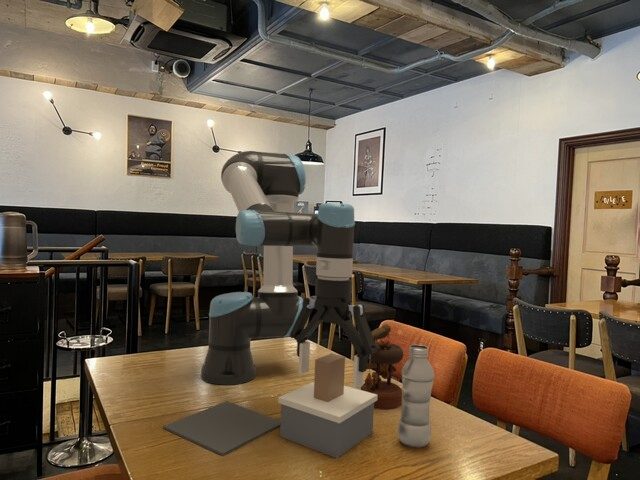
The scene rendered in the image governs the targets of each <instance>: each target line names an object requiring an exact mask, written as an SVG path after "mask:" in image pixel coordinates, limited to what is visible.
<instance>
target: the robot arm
mask: <svg viewBox="0 0 640 480" xmlns="http://www.w3.org/2000/svg"><path fill="white" fill-rule="evenodd" d="M220 175H221V176H220V179H221V182H222V185H223V187H224V188H225V190H226V191H227V192H228V193H230V195H231V196H232V199H233V202H234V204H235V206H236V209H237V210H238V213H237V215H236V220H235V234H236V240H237V242H238V244H239V245H245V246H253V247H259V246H260V247H261V246H262V247H263V280H262V281H263V282H262V283H263V284H262V286H260V288H259V289H258V290H257V297H253V294H252V293H251V292H248V291H243V292H242V291H236V292H235V291H234V292H229V293H223V294H219V295H216V296H214V297H213V298H212V299H211V301H210V304H209V313H208V317H209V327H208V328H209V329H208V332H209V333H208V349H207V353H206V356H205V359H204V362H203V364H202V366H201V370H200V373H201V374H200V377H201V380H202V381H204V382H207V383H209V384H213V385H225V386H226V385H228V386H229V385H230V386H231V385H238V384H239V385H240V384H244V383H247V382H250V381H252V380H254V379H255V377H256V373H257V372H256V370H257V369H256V368H257V367H256V365H255V364H254V359H253V354H252V351H251V340H252V339H267V338H268V339H269V338H270V339H271V338H282V339H283V338H285V337H286V338H287V337H290V339H294V340H295V341H296V343H297V344H296V345H297V346H296V356H297V357H298V374H299V375H303V374H306V373H308V372H310V350H311V341H308V340H309V338H310V337H311V336H312V334H313V333H314V332H315V331H316V329H317V328H319V326H320V325H321V323H322V322H323V323H329V324H332V325H338V326H339V327H340V328H342V330H343V332H344V333H345V335H346V337H347V338H348V340H349V342H350V343H351V345H352V346H353V349H354V350H355V352H356V353H357V354H355V355H354V356H353V374H352V375H353V379H352V381H353V382H352V388H354V389H359V388H361V386H363V384H364V372H366V371H367V370H368V369H367V364H368V360H369V359H368V355H370V354H373V353H375V352H377V347H376V344H375V339H373V336H372V334H371V331H372V330H371V328H370V326H369V323H368V321H367V320H368V319H367V318H366V313H365V312H366V311H365V305H364V304H363V303H361V304H356V305H355V304H351V297H352V289H353V288H352V287H353V285H352V284H353V281H352V280H351V279H350V278H352V277H353V264H354V263H353V261H354V260H353V258H354V257H353V256H354V237H355V225H356V220H355V207H354V206H353V205H352V204H349V203H340V202H339V203H338V202H337V203H336V202H335V203H334V202H331V203H328V202H324V203H321V204H320V205H319V206H318V212H317V213H308V212H294V205H295V203H297V201H299V195H302V194H303V193H304V191H305V188H306V179H307V178H306V171H305V167H304V163H303V161H302V160H301V159H300V157H299V156H297V155H294V154H293V155H291V154H287V153H278V152H277V153H276V152H264V151H255V150H247V151H246V150H243V151H240V152H239V153H236V154H233V155H232V156H231V157H230V158H229V159H227V160H226V162H225V163H224V165H223V166H222V168H221V172H220ZM294 247H301V248H302V247H303V248H304V247H307V248H316V269H315V271H316V272H315V275H316V276H317V277H318V278H316V279H315V289H314V295H315V297H316V298H314V297H313V296H309V297H305V298H303V297H301V296H300V295H298V294H299V293H298V290H297V288H295V286H294V285H293V284H294V283H293V278H294V277H293V276H294V275H293V273H294V272H293V271H294V270H293V266H294V265H293V264H294V263H293V261H294V259H293V258H294V256H293V254H294ZM314 308H315V309H316V313H315V314H314V315H313V316H312V317H311V320H310V321H309V322H308V320H309V318H310V316H311V315H312V312H313V310H314ZM350 314H351V315H352V316H353V319H352V318H351V316H350ZM353 320H354V322H355V325H356V326H355V325H354V322H353Z"/></svg>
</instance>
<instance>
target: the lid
mask: <svg viewBox="0 0 640 480" xmlns="http://www.w3.org/2000/svg"><path fill="white" fill-rule="evenodd" d="M345 367H346V356H344V355H340V354H336V353H329V354H326V355H324V356H321V357H318V358H316V359H314V381H312V382H310V383H307V384H304V385H302V386H301V387H298V388H295V389H293V390H291V391H289V392H287V393H284V394H282V395H280V396H278V397H277V403H278V404H280V405H281V404H283V405H286V406H289V407H292V408H295V409H298V410H301V411H304V412H307V413H310V414H313V415H316V416H319V417H322V418H325V419H328V420H331V421H334V422H337V423H341V422H343V421H344V420H346V419H348V418H349V417H351V416H352V415H354V414H356V413H357V412H359V411H361V410H362V409H364V408H366V407H367V406H369V405H370V404H372V403H374V402H375V401H377V398H378V395H377V394H373V393H370V392H366V391H362V390H361V389H359V388H357V389H354V388H353V387H351V386H346V385H345V371H346V369H345Z"/></svg>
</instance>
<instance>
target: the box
mask: <svg viewBox="0 0 640 480" xmlns="http://www.w3.org/2000/svg"><path fill="white" fill-rule="evenodd" d="M280 405H281V406H280V408H281V409H280V421H281V426H280V427H279V428H280V432H279V437H281V438H283V439H286V440H289V441H291V442H294V443H297V444H299V445H301V446H304V447H307V448H309V449H311V450H315V451H317V452H319V453H321V454H325V455H328V456H330V457H333V458H335V459H339V458H340V457H341V456H342V455H344V454H345V453H347V452H348V451H349V450H351V449H352V448H353V447H355V446H356V445H358V444H359V443H361V442H362V441H364V440H365V439H366V438H367V437H369V436H370V435H371V434H373V433H374V431H373V430H374V413H375V412H374V411H375V408H374V403H372V404H370V405H369V406H367V407H366V408H364V409H362V410H361V411H359V412H357V413H356V414H354V415H352V416H351V417H349V418H348V419H346V420H344V421H343V422H341V423H337V422H334V421H331V420H328V419H325V418H322V417H319V416H316V415H313V414H310V413H307V412H304V411H301V410H298V409H295V408H292V407H289V406H286V405H283V404H280Z"/></svg>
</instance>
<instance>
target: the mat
mask: <svg viewBox="0 0 640 480" xmlns="http://www.w3.org/2000/svg"><path fill="white" fill-rule="evenodd" d="M280 426H281V419H277V418H275V417H272V416H269V415H266V414H263V413H262V412H261V413H260V412H259V411H255V410H252V409H250V408H246V407H244V406H242V405H238V404H237V403H233V402H230V401H228V400H226V401H223V402H220V403H218V404H216V405H213V406H210V407H207V408H206V409H203V410H200V411H198V412H195V413H192V414H191V415H187V416H185V417H183V418H180V419H178V420H174V421H172V422H170V423H167V424H164V425H162V430H166V431H167V432H169V433H173V434H175V436H176V435H177V436H178V437H180V438H183V439H185V440H187V441H189V442H192V443H194V444H196V445H198V446H200V447H203V448H205V449H207V450H209V451H211V452H213V453H215V454H217V455H220V456H222V457H224V456H225V455H228V454H230V453H231V452H232V453H233V450H234V451H236V450H237V449H239V448H241V447H243V446H245V445H246V444H249V443H251V442H253V441H255V440H256V439H258V438H261V437H262V436H265V435H267V434H268V433H270V432H272V431H274V430H276V429H278V428H280Z"/></svg>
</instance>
